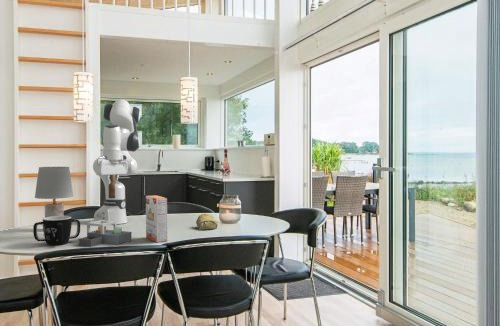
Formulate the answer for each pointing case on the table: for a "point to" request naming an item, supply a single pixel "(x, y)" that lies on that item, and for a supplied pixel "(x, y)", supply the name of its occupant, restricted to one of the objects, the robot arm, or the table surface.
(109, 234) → the grey stand
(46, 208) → the lamp
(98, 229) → the button breaker
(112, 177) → the dowel
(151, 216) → the cracker box
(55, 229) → the mug
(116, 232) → the button on
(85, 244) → the block
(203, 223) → the pastry
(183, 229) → the table surface
